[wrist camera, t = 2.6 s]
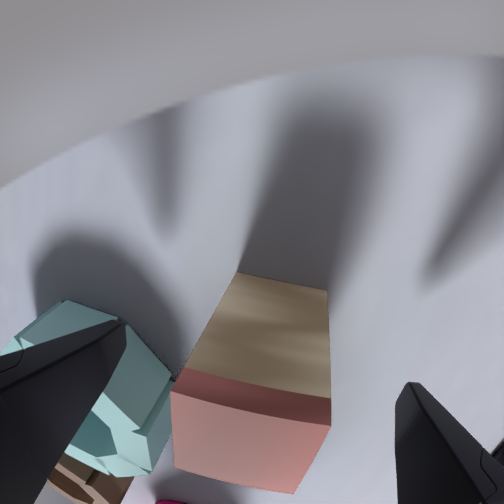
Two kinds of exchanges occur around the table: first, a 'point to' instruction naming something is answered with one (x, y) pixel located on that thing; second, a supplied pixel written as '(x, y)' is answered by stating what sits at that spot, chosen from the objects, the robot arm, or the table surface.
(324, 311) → the pink two-tone square block
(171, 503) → the pepper mill
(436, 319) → the table surface
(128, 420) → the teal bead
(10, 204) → the table surface
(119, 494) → the brown segmented ring
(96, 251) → the table surface
